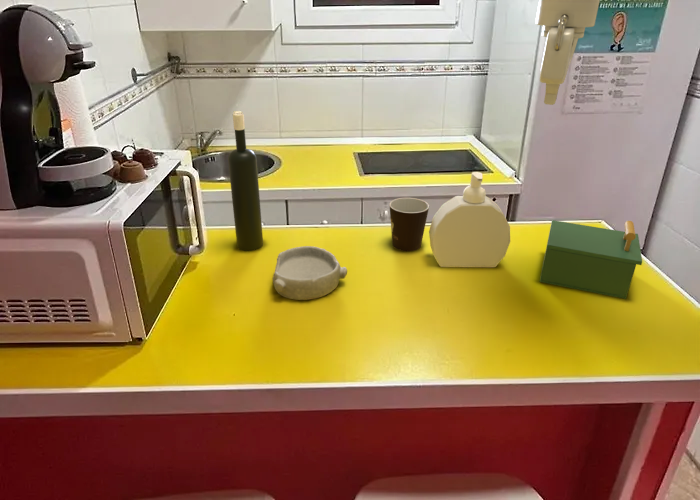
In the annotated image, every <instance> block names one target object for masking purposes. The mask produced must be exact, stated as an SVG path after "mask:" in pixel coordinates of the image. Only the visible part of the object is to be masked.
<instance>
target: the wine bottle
mask: <svg viewBox="0 0 700 500" xmlns="http://www.w3.org/2000/svg"><path fill="white" fill-rule="evenodd" d="M232 123H233V130H234V137H235V148H236V149H233V150H231V152H230V153H229V154H228V156H227V163H228V174H229V181H230V192H231V200H232V201H231V203H232V211H233V219H234V220H233V221H234V230H235V240H236V247H237V249H238V250H240V251H243V252H254V251H258V250H260V249H262V248H263V246H264V238H263V223H262V212H261V210H262V209H261V199H260V185H259V173H258V160H257V159H258V158H257V155H256V154H255V152H254V151H253V150H252V149H249V148H247V142H246V140H247V139H246V130H245V129H246V124H245V114H244V113H243V111H242V110H237V111H236V110H233V113H232Z"/></svg>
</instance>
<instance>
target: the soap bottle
mask: <svg viewBox="0 0 700 500" xmlns="http://www.w3.org/2000/svg"><path fill="white" fill-rule="evenodd" d="M483 179H484V178H483V172H480V171H472V172H471V176H470V184H469V185H466V187H465V188H464V189H463V192H462V195H455V196H453V197H452V198H450V199H449V200H447V201H446V202H444V203H442V205H441V206H440V207H439V209H438V210H437V211H436V213H435V214H434V215H433V217H432V220H431V223H430V227H429V230H428V235H429V236H428V237H429V244H430V249H431V252H432V255H433V257H434V259H435V261H436V262H437V264H438V266H439V267H441V268H496V267H497V266H498V265H499V264H500V262H502V261H503V259H504V258H505V257H506V255H507V252H508V249H509V246H510V244H511V226H510V223H509V222H508V220H507V218H506V216H505V214H504V212H503V211H502V209H501V207H500V206H499V205H498V204H497V203H496V202H494V201H493V200H492V199H491V198H490V197H488V196H486V195H487V194H486V192H487V191H486V190H485V188H484V187H482V182H483Z"/></svg>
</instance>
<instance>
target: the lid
mask: <svg viewBox="0 0 700 500" xmlns="http://www.w3.org/2000/svg"><path fill="white" fill-rule="evenodd" d="M623 226H624V231H622V230H618V229H617V230H616V229H610V228H604V227H598V226H592V225H585V224H579V223H572V222H567V221H561V220H554V219H552V220H551V222H550V227H551V228H550V227H549V232H550V233H549V232H548V237H549V238H548V237H547V242H548V243H547V242H546V247H547V248H548V249H553V250H559V251H565V252H570V253H576V254H581V255H587V256H592V257H598V258H604V259H609V260H615V261H620V262H626V263H631V264H636V266H642V264H643V257H642V249H641V244H640V239H639V234H638V233H636V230H635V223H634V222H633V220H626V221H625V222H624V225H623Z"/></svg>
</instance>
